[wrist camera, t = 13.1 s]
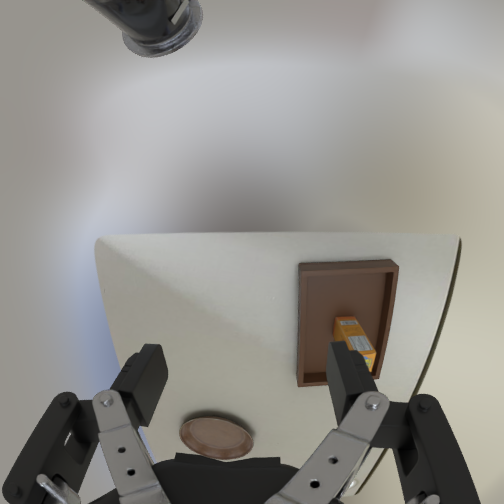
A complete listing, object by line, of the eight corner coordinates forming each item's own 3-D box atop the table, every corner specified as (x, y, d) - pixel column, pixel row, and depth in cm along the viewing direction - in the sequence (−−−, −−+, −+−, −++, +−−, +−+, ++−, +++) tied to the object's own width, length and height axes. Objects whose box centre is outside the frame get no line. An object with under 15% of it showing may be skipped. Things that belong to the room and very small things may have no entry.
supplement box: (353, 333, 41) (371, 374, 32) (332, 334, 41) (346, 376, 32) (356, 314, 40) (377, 353, 31) (334, 315, 40) (350, 355, 31)
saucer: (167, 419, 50) (164, 429, 47) (224, 400, 47) (222, 410, 44) (212, 455, 53) (210, 464, 50) (267, 440, 50) (267, 449, 48)
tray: (298, 263, 39) (301, 271, 36) (390, 259, 38) (399, 266, 35) (296, 375, 45) (297, 387, 42) (373, 367, 44) (379, 378, 41)
